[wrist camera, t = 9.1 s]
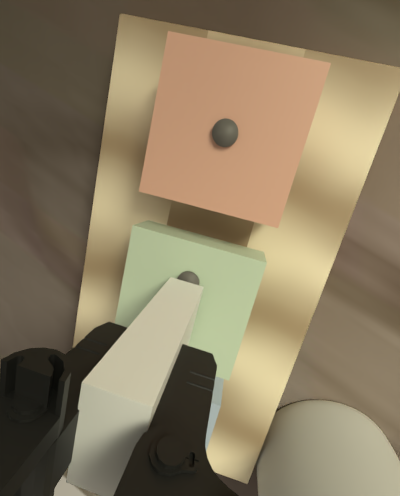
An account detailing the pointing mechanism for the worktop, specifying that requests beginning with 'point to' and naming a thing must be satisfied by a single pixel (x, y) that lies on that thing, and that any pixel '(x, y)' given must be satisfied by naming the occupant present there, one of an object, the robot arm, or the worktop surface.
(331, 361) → the worktop surface
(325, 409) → the mug
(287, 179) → the terracotta tile
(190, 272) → the sage tile
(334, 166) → the board
